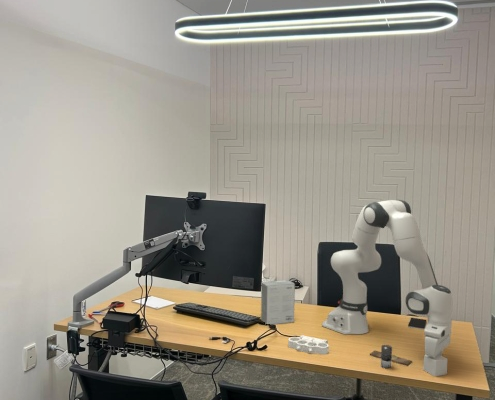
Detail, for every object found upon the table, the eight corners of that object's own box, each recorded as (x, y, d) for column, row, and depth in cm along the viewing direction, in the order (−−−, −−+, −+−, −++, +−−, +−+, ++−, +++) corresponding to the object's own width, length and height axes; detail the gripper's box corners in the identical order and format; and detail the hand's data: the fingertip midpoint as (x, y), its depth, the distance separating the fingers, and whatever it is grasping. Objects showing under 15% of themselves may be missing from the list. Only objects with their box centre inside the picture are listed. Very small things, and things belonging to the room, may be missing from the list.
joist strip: (369, 355, 198) (369, 353, 198) (375, 351, 202) (375, 349, 202) (406, 366, 188) (406, 364, 188) (412, 361, 192) (412, 360, 192)
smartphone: (407, 326, 235) (410, 317, 249) (407, 328, 235) (410, 319, 249) (424, 328, 232) (426, 319, 245) (424, 331, 232) (426, 321, 246)
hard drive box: (288, 318, 245) (289, 280, 244) (294, 322, 238) (295, 283, 237) (260, 320, 240) (261, 281, 239) (265, 325, 233) (266, 285, 232)
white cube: (423, 370, 184) (423, 355, 184) (434, 368, 187) (435, 353, 186) (435, 376, 179) (435, 361, 178) (446, 374, 181) (447, 358, 181)
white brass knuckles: (334, 347, 208) (323, 358, 195) (296, 339, 216) (283, 349, 203) (334, 339, 207) (323, 350, 194) (296, 332, 216) (283, 342, 203)
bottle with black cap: (378, 366, 187) (379, 347, 186) (383, 363, 190) (384, 344, 189) (388, 369, 184) (389, 349, 184) (392, 366, 187) (393, 346, 187)
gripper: (439, 319, 198) (437, 351, 198) (422, 331, 182) (420, 366, 183) (455, 322, 194) (453, 355, 194) (439, 335, 178) (437, 371, 179)
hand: (437, 361), depth 188 cm, fingers closed
